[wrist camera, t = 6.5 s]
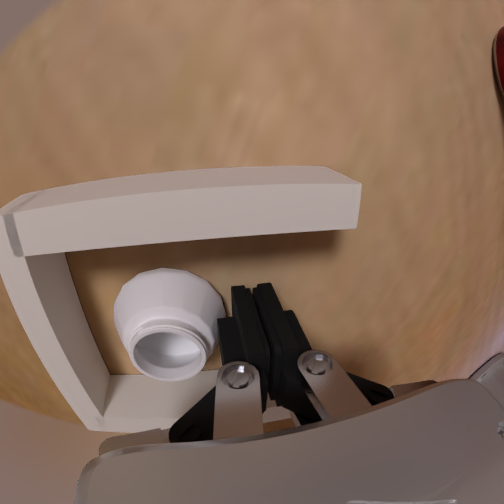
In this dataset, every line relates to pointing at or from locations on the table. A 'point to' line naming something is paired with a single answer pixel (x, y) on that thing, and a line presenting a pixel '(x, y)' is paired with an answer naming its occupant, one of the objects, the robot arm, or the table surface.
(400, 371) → the table surface
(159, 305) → the white jar
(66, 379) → the bay
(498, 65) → the soda can
